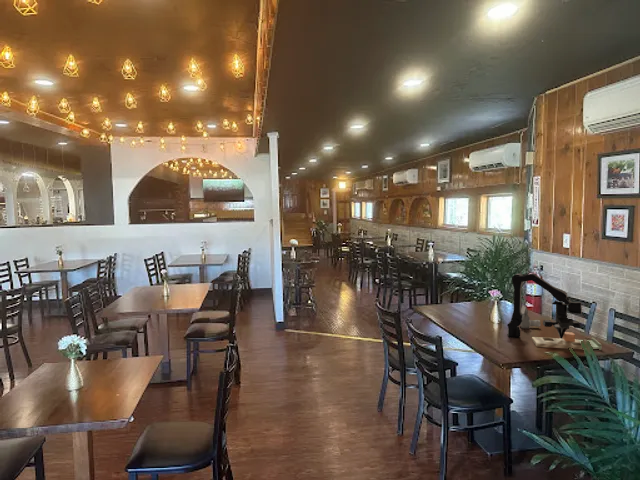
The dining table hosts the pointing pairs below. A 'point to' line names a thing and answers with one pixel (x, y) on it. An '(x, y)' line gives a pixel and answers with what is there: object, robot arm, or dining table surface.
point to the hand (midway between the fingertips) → (561, 338)
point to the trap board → (563, 343)
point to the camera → (528, 319)
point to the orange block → (569, 336)
